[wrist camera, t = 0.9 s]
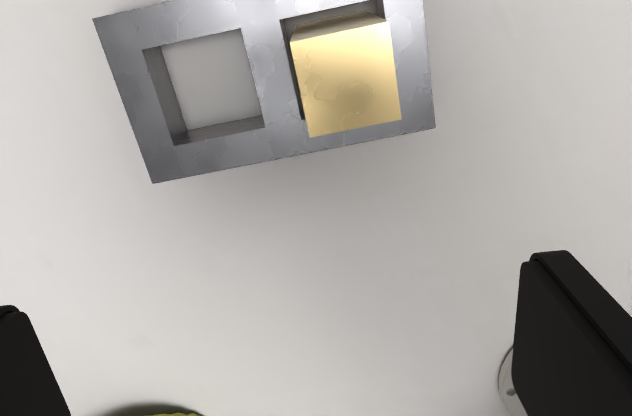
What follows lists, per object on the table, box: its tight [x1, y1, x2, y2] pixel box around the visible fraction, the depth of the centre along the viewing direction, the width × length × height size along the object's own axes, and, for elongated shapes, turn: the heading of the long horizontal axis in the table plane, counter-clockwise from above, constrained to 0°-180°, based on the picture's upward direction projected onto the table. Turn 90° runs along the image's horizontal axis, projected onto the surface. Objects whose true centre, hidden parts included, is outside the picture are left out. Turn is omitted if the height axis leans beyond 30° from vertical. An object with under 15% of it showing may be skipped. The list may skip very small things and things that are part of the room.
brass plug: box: [290, 10, 402, 138], centre depth 27 cm, size 4×4×10 cm
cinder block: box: [92, 0, 436, 184], centre depth 30 cm, size 18×10×4 cm, turn 101°
